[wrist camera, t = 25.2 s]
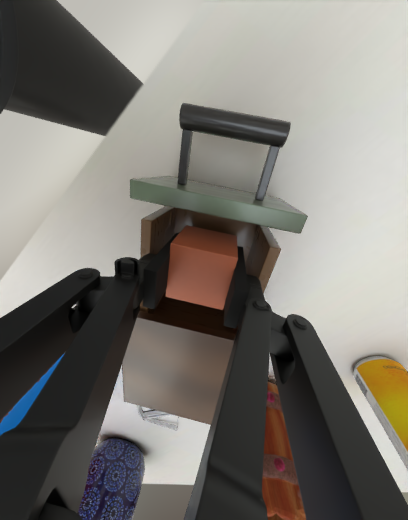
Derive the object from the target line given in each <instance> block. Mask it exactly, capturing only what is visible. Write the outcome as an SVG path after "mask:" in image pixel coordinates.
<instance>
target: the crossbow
mask: <svg viewBox="0 0 408 520" xmlns="http://www.w3.org/2000/svg"><path fill="white" fill-rule="evenodd" d="M137 410H138V413H139V415H140V417H142V418H143V420H147V421H149V422H151V423H154V424H157V425H160V426H163V427H167V428H170V429H174V430H177V428H178V426H177V425H173V424H169V423H166V422H163V421H160V420H157V419H154V418H158V417H165V416H172V415H173V414H169V413H165V412H162V411H158V410H156V411H150V412H143V411H142V410H141V406H139V405H137ZM175 416H176V415H175ZM178 418H179V416H178ZM177 423H178V421H177Z"/></svg>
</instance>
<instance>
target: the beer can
mask: <svg viewBox="0 0 408 520" xmlns="http://www.w3.org/2000/svg"><path fill="white" fill-rule="evenodd" d="M353 375H354V378H355V380H356V382H357V383H358V385H359V387H360V389H361V390H362V392H363V394H364V396H365V397H366V399H367V401H368V402H369V404H370V406H371V408H372V409H373V411H374V413H375V415H376V416H377V418H378V420H379V421H380V423H381V425H382V427H383V428H384V430H385V432H386V433H387V435H388V437H389V439H390V440H391V442H392V444H393V446H394V447H395V449H396V451H397V452H398V454H399V456H400V458H401V459H402V461H403V463H404V465H405V466H406V468H407V470H408V372H407V371H406V369H405V368H404V367H403V366H402V365H401V364H400V363H398V362H396V361H394V360H391V359H389V358H387V357H382V356H372V357H368V358H365V359H362V360H360V361H359V362H358V363H357V364H356V365H355V368H354V374H353Z"/></svg>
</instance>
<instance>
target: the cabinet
mask: <svg viewBox="0 0 408 520" xmlns="http://www.w3.org/2000/svg"><path fill="white" fill-rule="evenodd" d="M235 336H236V334H233V333H229V332H225V331H221V330H217V329H213V328H209V327H204V326H200V325H196V324H192V323H188V322H184V321H180V320H175V319H171V318H167V317H163V316H159V315H155V314H151V313H146V312H142V311H140V305H139V313H138V316H137V319H136V322H135V325H134V328H133V331H132V334H131V337H130V340H129V344H128V347H127V350H126V353H125V356H124V359H123V362H122V371H123V391H124V402H128V403H132V404H136V405H139V406H143V407H147V408H150V409H154V410H158V411H162V412H165V413H169V414H173V415H176V416H180V417H184V418H188V419H191V420H195V421H199V422H202V423H206V424H210V425H211V423H212V419H213V416H214V412H215V408H216V405H217V401H218V398H219V394H220V390H221V387H222V383H223V380H224V376H225V372H226V369H227V365H228V362H229V358H230V354H231V351H232V347H233V341H234V338H235Z"/></svg>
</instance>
